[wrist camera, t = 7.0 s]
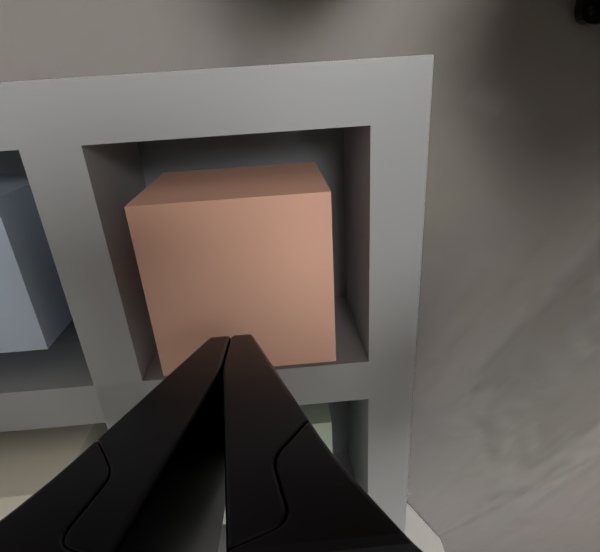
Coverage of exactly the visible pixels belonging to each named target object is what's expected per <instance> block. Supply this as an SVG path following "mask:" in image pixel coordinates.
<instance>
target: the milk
mask: <svg viewBox="0 0 600 552" xmlns="http://www.w3.org/2000/svg"><path fill="white" fill-rule="evenodd" d="M405 535H406V536H407V537H408V538H409V539H410V540H411V541H412V542H413V543H414V544H415V545H416V546H417V547H418V548H419V549H421V550H422V551H423V552H445V551H444V549H443V546H442V543H441V541H440V538H439V537H438V536H437V535H436V534H435V533H434V531H433V530H432V529H431V528H430V527H429V526H428V525H427V524H426V523H425V522H424V521H423V520H422V519H421V517H420V516H419V515H418V514H417V513H416V512H415V511H414V510H413V509H412V508H411V507H410V506H409V505H408V503H407V506H406V522H405Z"/></svg>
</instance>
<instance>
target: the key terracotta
mask: <svg viewBox="0 0 600 552" xmlns="http://www.w3.org/2000/svg"><path fill="white" fill-rule="evenodd" d="M124 209H125V213H126V217H127V221H128V226H129V230H130V234H131V239H132V243H133V247H134V251H135V256H136V260H137V264H138V269H139V273H140V277H141V281H142V286H143V290H144V294H145V298H146V303H147V307H148V311H149V316H150V320H151V324H152V328H153V333H154V337H155V341H156V346H157V350H158V354H159V358H160V363H161V367H162V371H163V376H168V375H169V374H170V373H172V372H173V371H174V370H175V369H176V368H177V367H178V366H179V365H180V364H182V363H183V362H184V361H185V360H186V359H187V358H188V357H189V356H190V355H191V354H193V353H194V352H195V351H196V350H197V349H198V348H199V347H200V346H201V345H203V344H204V343H205V342H206V341H207V340H208V339H209V338H211V337H220V336H229V337H230V338H232V336H234V335H245V334H251V335H252V336H253V337H254V338H255V340H256V341H257V343H258V344H259V346H260V347H261V349H262V350H263V352H264V353H265V355H266V356H267V358H268V359H269V361H270V362H271V364H272V365H273V366H285V365H296V364H308V363H319V362H331V361H336V338H335V305H334V272H333V240H332V207H331V190H330V189H329V187H328V185H327V183H326V181H325V179H324V178H323V176H322V174H321V172H320V170H319V168H318V166H317V165H316V163H315V162H305V163H291V164H277V165H263V166H249V167H235V168H221V169H208V170H194V171H180V172H166V173H162V174H161V175H160V176H159V177H158V178H157V179H155V180H154V181H153V182H152V183H151V184H150V185H149V186H147V187H146V188H145V189H144V190H143V191H142V192H141V193H139V194H138V195H137V196H136V197H135V198H134V199H133V200H131V201H130V202H129V203H128V204H127V205H126V206H124Z"/></svg>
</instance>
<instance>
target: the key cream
mask: <svg viewBox="0 0 600 552" xmlns="http://www.w3.org/2000/svg"><path fill="white" fill-rule="evenodd" d="M107 430H108V428H107V425H106V423H96V424H84V425H73V426H62V427H51V428H40V429H29V430H18V431H6V432H0V520H2V519H3V518H4V517H6V516H7V515H8V514H9V513H11V512H12V511H13V510H15V509H16V508H17V507H18V506H20V505H21V504H22V503H23V502H25V501H26V500H27V499H28V498H30V497H31V496H32V495H33V494H35V493H36V492H37V491H38V490H40V489H41V488H42V487H43V486H45V485H46V484H47V483H48V482H50V481H51V480H52V479H53V478H54V477H55V476H57V475H58V474H59V473H60V472H61V471H62V470H63V469H65V468H66V467H67V466H68V465H69V464H70V463H72V462H73V461H74V460H75V459H76V458H77V457H78V456H80V455H81V454H82V453H83V452H84V451H85V450H86V449H87V448H88V447H89V446H91V445H92V444H93V443H94V442H98V439H99V438H100V437H101V436H102V435H103V434H104V433H105V432H106V431H107Z"/></svg>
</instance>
